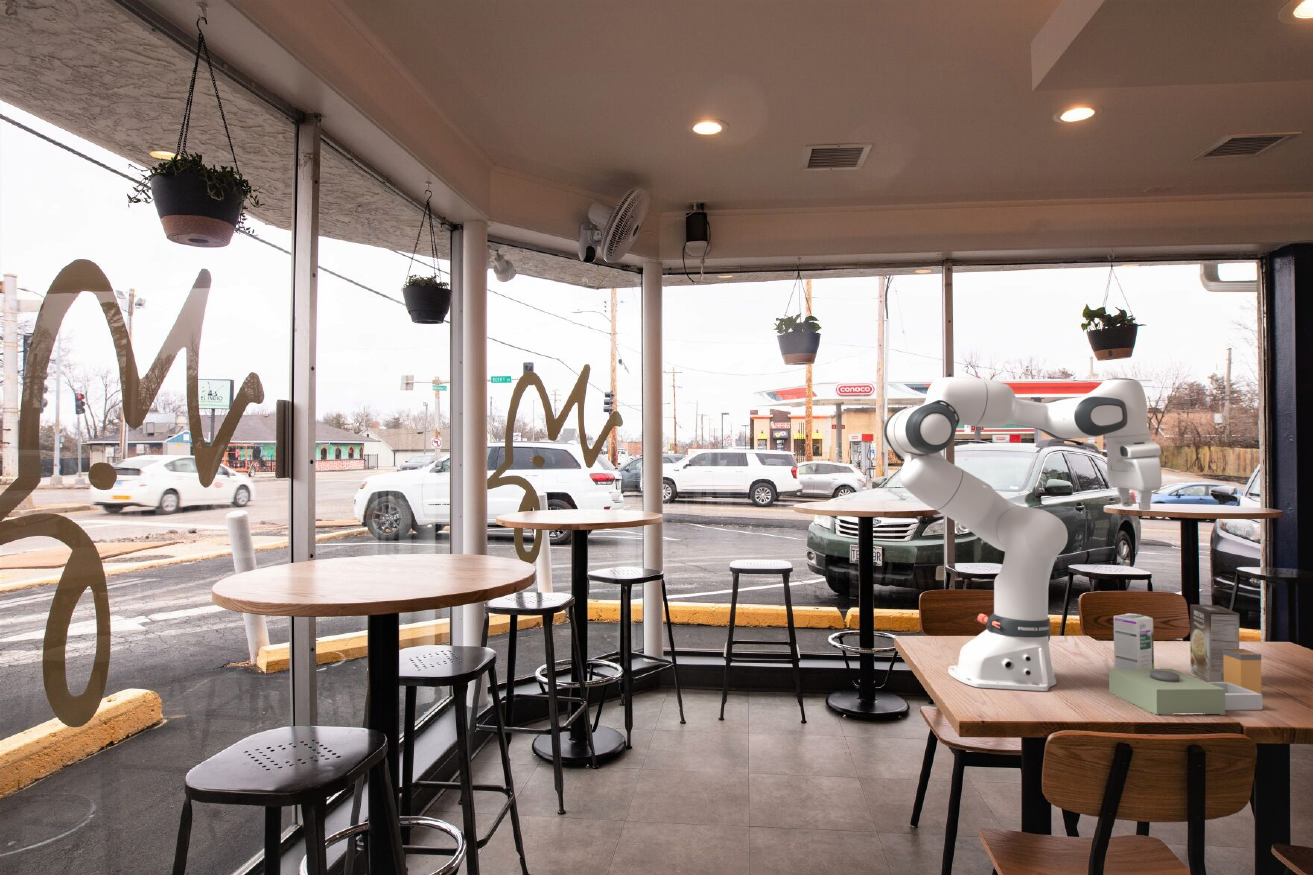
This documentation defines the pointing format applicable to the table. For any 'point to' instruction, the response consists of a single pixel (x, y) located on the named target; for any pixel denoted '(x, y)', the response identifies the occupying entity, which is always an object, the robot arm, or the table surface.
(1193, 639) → the coffee box
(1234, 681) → the orange and grey block
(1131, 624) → the syrup box
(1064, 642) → the table surface
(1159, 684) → the knobbed slab with frame
